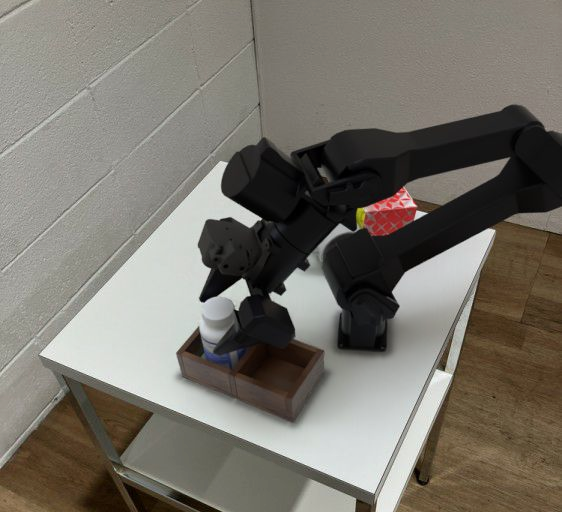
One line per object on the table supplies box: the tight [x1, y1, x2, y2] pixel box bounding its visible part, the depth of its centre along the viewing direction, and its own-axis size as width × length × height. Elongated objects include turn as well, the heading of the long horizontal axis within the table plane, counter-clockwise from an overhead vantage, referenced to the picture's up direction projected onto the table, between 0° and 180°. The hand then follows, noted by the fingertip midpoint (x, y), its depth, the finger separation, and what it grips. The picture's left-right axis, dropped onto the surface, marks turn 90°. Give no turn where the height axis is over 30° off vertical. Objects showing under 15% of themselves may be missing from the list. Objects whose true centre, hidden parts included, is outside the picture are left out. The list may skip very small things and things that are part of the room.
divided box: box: [175, 325, 325, 423], centre depth 80 cm, size 16×9×5 cm, turn 61°
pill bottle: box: [198, 296, 247, 370], centre depth 79 cm, size 5×5×10 cm
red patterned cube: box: [356, 186, 418, 236], centre depth 95 cm, size 8×8×8 cm
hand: (208, 326), depth 77 cm, fingers open, 9 cm apart
